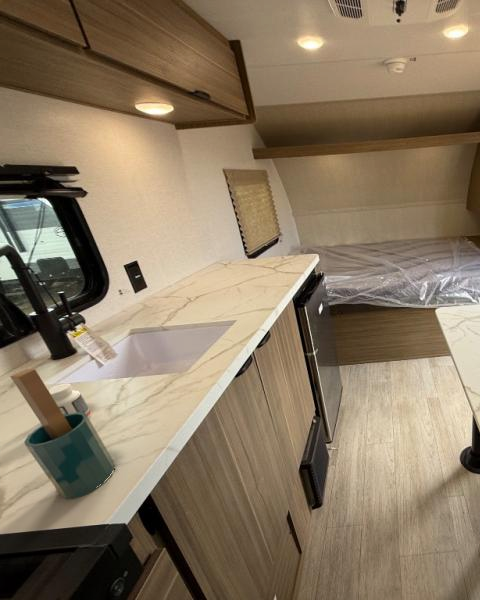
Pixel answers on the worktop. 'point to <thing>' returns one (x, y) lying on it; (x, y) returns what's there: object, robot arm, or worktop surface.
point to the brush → (41, 402)
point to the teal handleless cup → (72, 457)
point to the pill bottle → (69, 400)
